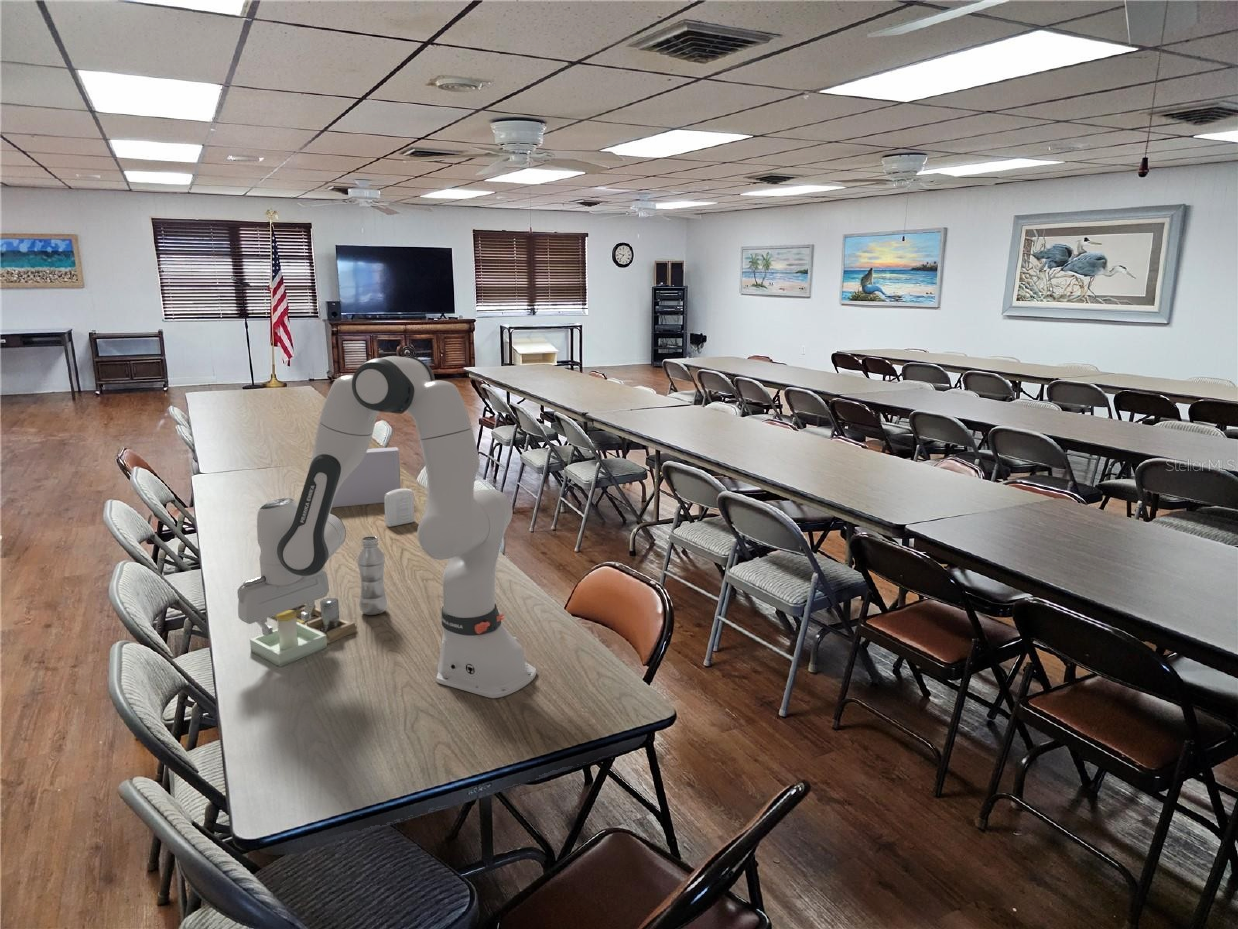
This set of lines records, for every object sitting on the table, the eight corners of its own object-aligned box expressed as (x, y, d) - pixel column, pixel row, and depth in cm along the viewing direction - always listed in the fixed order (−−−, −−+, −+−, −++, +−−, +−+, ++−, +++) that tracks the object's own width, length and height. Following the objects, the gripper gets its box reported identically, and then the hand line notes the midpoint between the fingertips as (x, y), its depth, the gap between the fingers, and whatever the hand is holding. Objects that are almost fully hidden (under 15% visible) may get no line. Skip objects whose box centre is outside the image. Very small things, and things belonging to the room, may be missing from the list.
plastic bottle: (359, 609, 195) (354, 535, 190) (386, 605, 197) (382, 533, 192) (360, 619, 189) (355, 544, 184) (388, 616, 191) (384, 541, 186)
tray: (326, 647, 175) (326, 635, 174) (280, 667, 165) (278, 654, 165) (297, 633, 181) (296, 621, 180) (250, 651, 172) (249, 639, 171)
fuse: (302, 645, 173) (299, 613, 172) (285, 652, 170) (282, 619, 168) (292, 640, 176) (289, 608, 174) (275, 646, 172) (272, 614, 171)
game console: (323, 504, 280) (319, 451, 275) (398, 497, 291) (396, 446, 286) (324, 508, 275) (320, 455, 270) (401, 501, 286) (399, 450, 281)
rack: (356, 631, 182) (356, 622, 182) (328, 643, 176) (327, 633, 176) (296, 604, 196) (295, 595, 196) (268, 614, 190) (267, 605, 189)
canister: (343, 631, 182) (341, 600, 180) (329, 637, 179) (326, 606, 177) (333, 626, 185) (331, 596, 183) (319, 632, 181) (316, 602, 179)
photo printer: (410, 519, 266) (409, 485, 263) (416, 522, 263) (415, 488, 260) (383, 525, 259) (381, 490, 256) (389, 528, 256) (387, 493, 253)
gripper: (244, 588, 158) (251, 648, 162) (330, 560, 175) (334, 615, 178) (228, 580, 162) (235, 639, 165) (314, 554, 178) (318, 608, 182)
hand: (287, 627), depth 172 cm, fingers open, 8 cm apart
